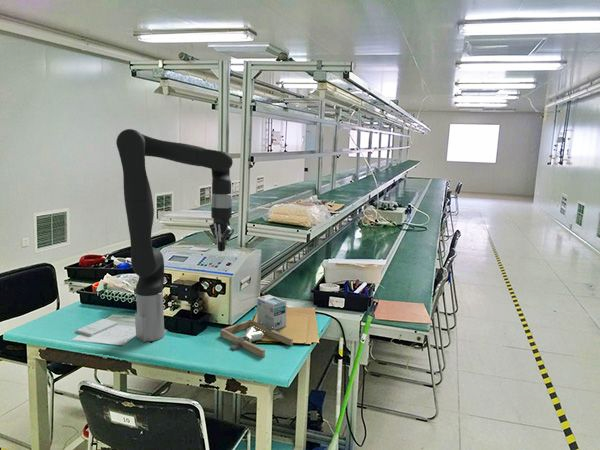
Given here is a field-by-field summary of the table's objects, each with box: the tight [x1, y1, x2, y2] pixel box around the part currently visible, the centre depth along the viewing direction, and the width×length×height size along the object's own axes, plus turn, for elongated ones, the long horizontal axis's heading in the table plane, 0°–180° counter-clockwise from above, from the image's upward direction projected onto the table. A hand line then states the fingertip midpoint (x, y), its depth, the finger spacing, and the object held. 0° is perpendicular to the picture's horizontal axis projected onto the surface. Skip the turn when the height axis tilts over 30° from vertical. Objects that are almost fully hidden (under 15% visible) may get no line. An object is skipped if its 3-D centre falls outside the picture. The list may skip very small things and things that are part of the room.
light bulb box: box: [256, 294, 287, 330], centre depth 185 cm, size 11×7×11 cm, turn 44°
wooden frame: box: [219, 319, 294, 358], centre depth 171 cm, size 14×24×2 cm, turn 45°
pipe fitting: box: [241, 327, 265, 343], centre depth 171 cm, size 8×4×7 cm
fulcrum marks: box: [229, 327, 281, 351], centre depth 171 cm, size 22×3×3 cm, turn 135°
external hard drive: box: [75, 318, 119, 337], centre depth 179 cm, size 2×8×12 cm
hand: (221, 250), depth 177 cm, fingers closed
